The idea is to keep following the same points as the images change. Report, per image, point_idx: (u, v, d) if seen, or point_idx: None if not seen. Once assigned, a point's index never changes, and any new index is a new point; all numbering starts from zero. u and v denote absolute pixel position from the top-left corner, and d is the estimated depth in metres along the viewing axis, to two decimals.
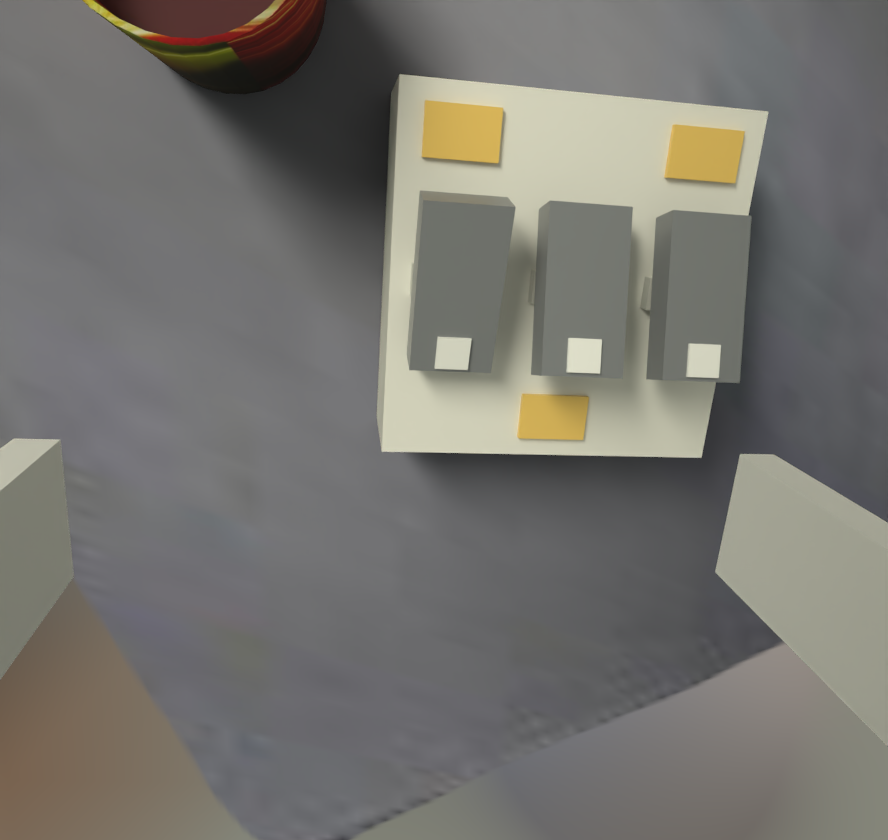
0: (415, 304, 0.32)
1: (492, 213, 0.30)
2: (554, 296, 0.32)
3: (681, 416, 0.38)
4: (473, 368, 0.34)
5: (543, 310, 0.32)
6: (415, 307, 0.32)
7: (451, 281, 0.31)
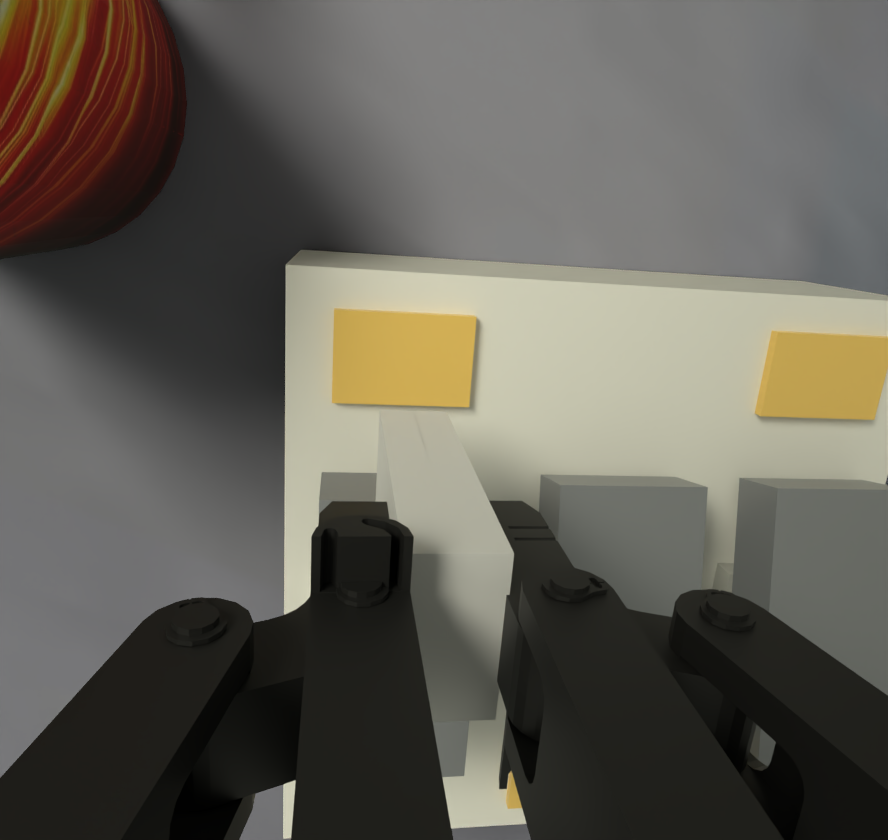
0: None
1: None
2: None
3: None
4: None
5: None
6: None
7: None
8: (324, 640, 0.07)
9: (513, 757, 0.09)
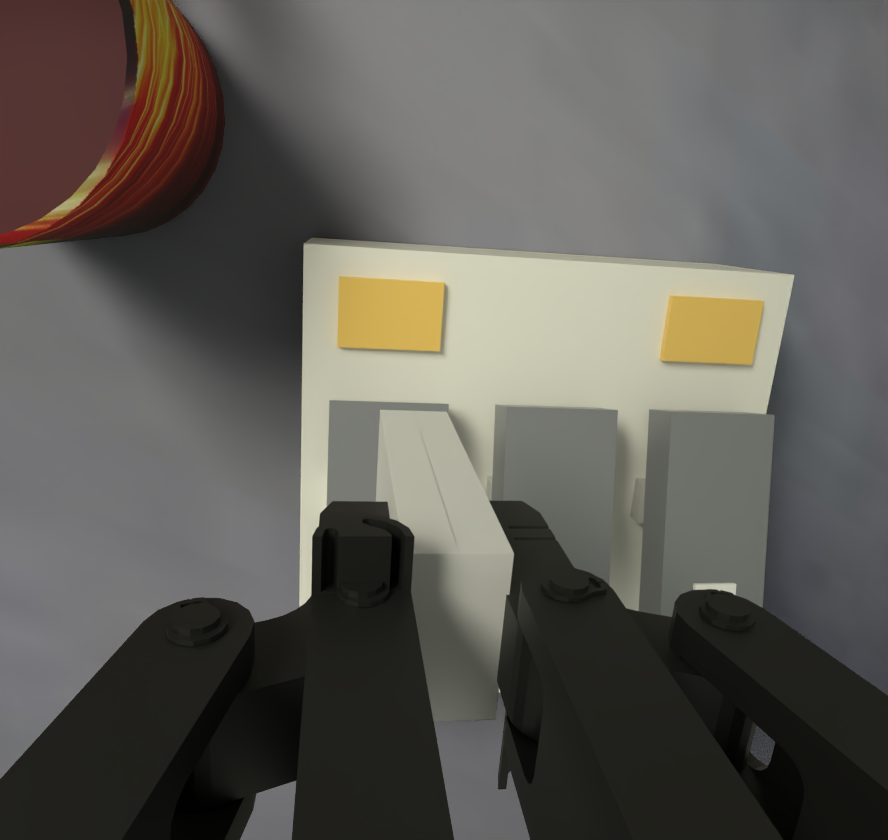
0: None
1: None
2: None
3: None
4: None
5: None
6: None
7: None
8: (325, 640, 0.07)
9: (512, 757, 0.09)
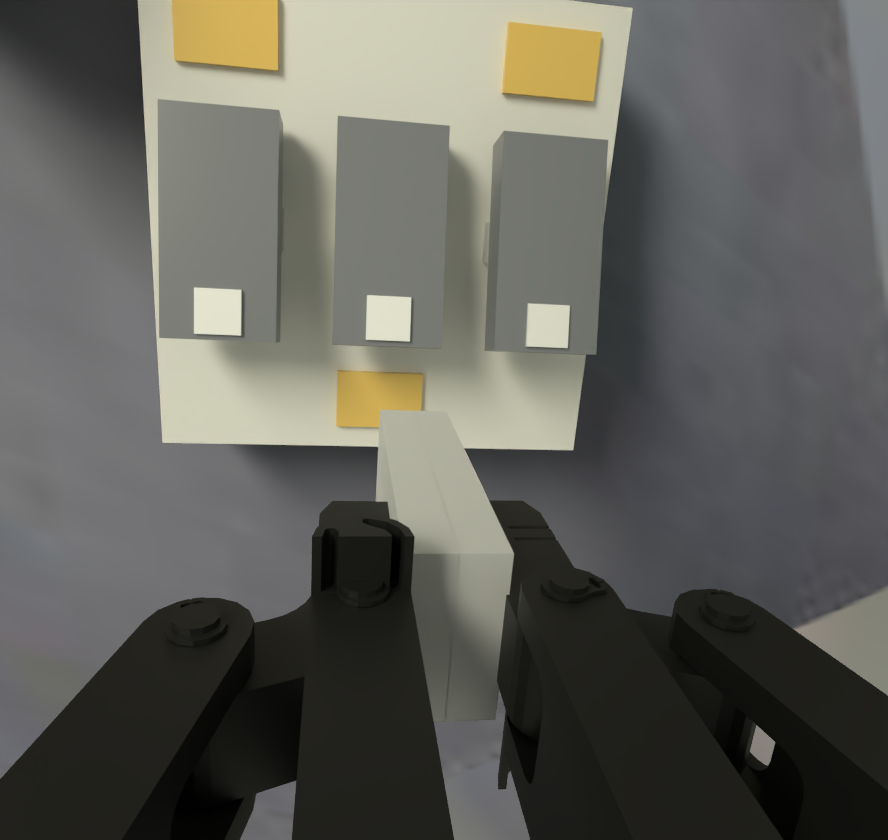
0: (159, 240, 0.24)
1: (250, 117, 0.24)
2: (347, 241, 0.25)
3: (544, 399, 0.31)
4: (250, 335, 0.25)
5: (334, 259, 0.25)
6: (159, 244, 0.24)
7: (205, 208, 0.24)
8: (325, 640, 0.07)
9: (512, 757, 0.09)
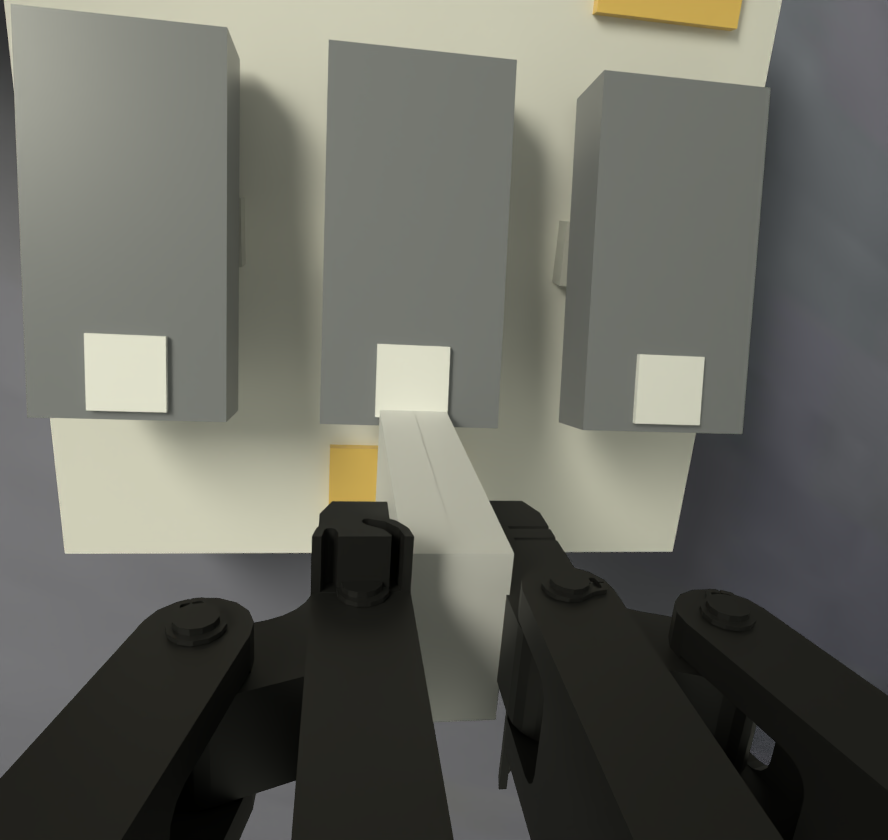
0: (23, 253, 0.14)
1: (176, 40, 0.14)
2: (344, 254, 0.15)
3: (635, 481, 0.21)
4: (183, 410, 0.15)
5: (323, 284, 0.15)
6: (23, 260, 0.14)
7: (102, 198, 0.14)
8: (324, 640, 0.07)
9: (512, 757, 0.09)
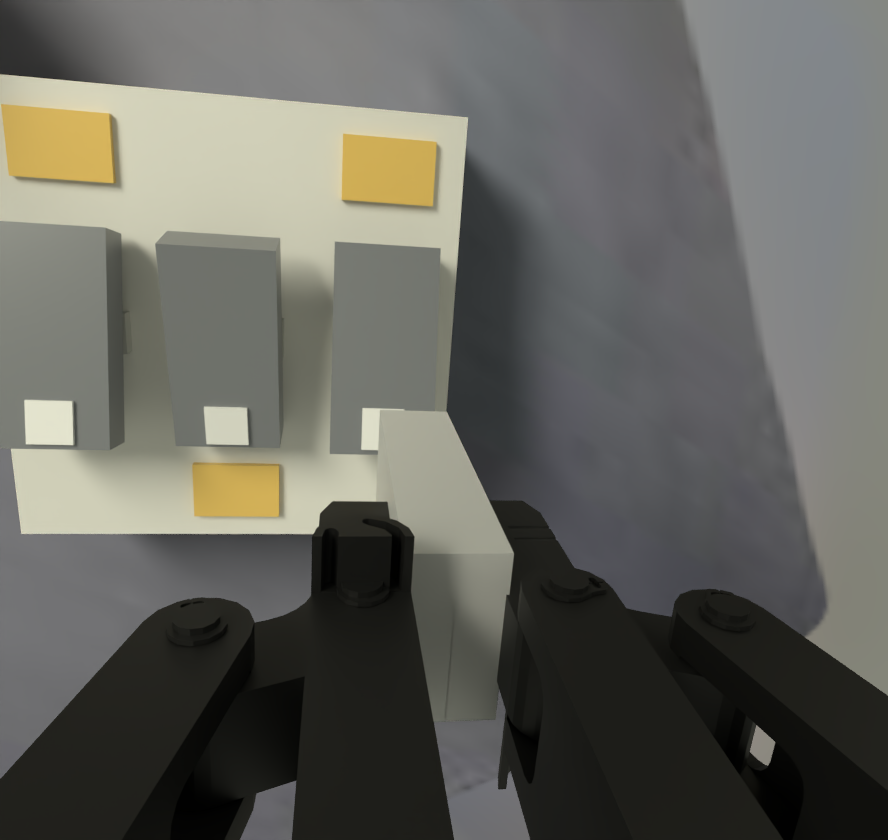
0: None
1: (76, 235, 0.24)
2: (179, 360, 0.26)
3: None
4: (83, 443, 0.25)
5: None
6: None
7: (34, 323, 0.25)
8: (325, 640, 0.07)
9: (512, 757, 0.09)
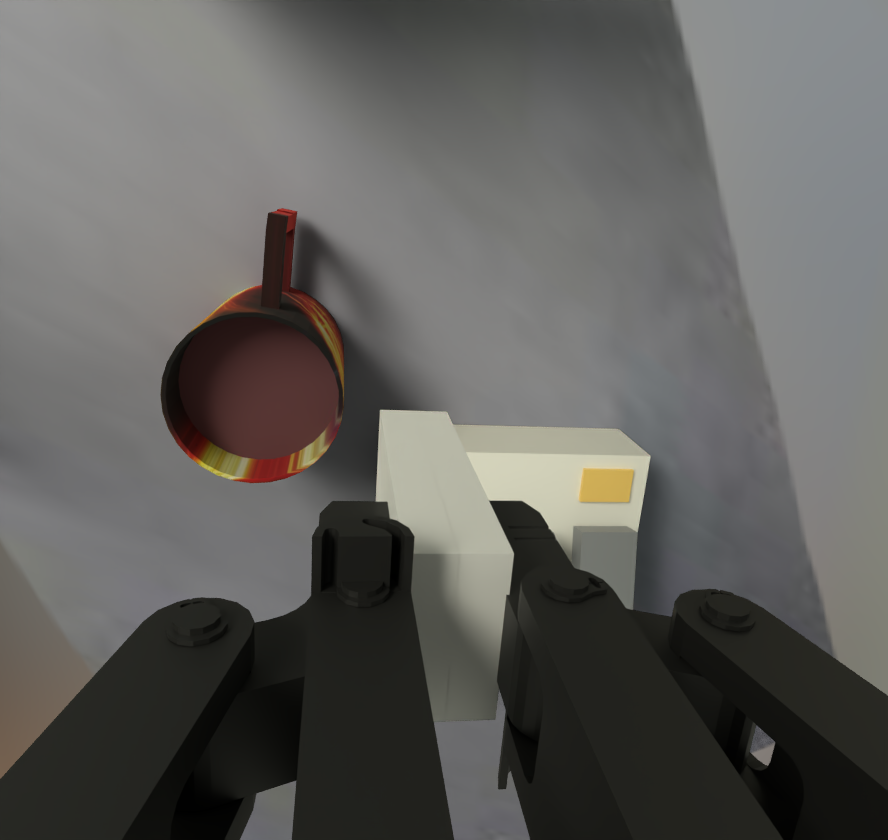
0: None
1: None
2: None
3: None
4: None
5: None
6: None
7: None
8: (325, 640, 0.07)
9: (512, 757, 0.09)
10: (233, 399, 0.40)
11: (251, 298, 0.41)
